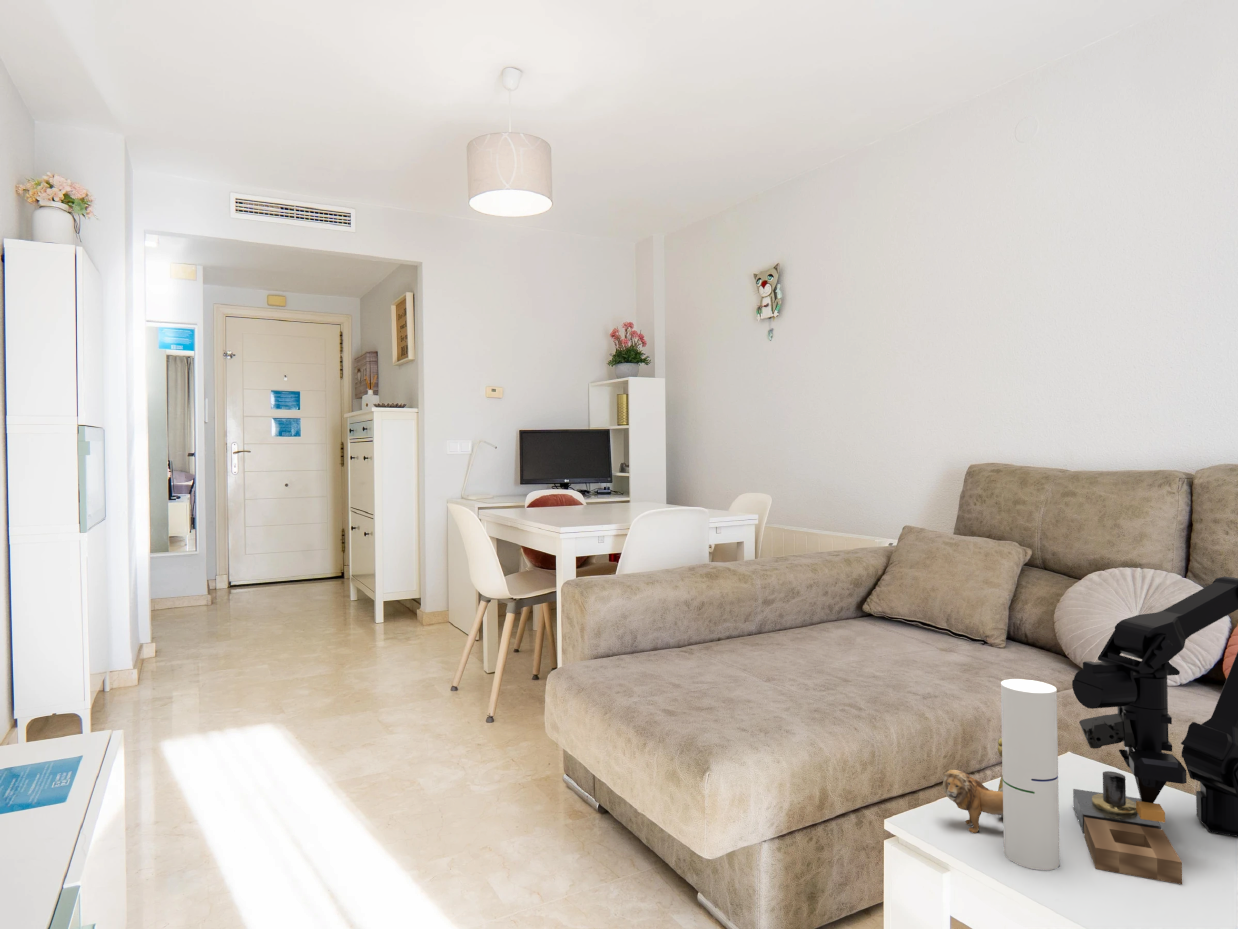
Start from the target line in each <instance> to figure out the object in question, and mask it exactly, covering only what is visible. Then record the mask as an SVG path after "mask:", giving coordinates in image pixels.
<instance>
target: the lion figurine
mask: <svg viewBox="0 0 1238 929" xmlns="http://www.w3.org/2000/svg"><path fill="white" fill-rule="evenodd" d="M942 790H943V793H944V795H945V796H946V798H948V799H949V800H950V801H952V802H953V803H954V804H956V807H957V808H958V809H959V810H963V811H966V812H968V815H969V818H968V819H967V820H965V824H966V825H968V826H970V827H969V828H968V832H970V833H972V834H977V833H979V831H980V817H981V815H982V813H984V814H988V815H994V816H999V815H1001V816H1002V814H1003V792H1000V791H998V790H993V789H989V788H987V787H986V786H984V784H983V783H982V782H981V781H980V780H979V779H976V778H974V777H972V776H970V775H969V774H968V773H966V772H964V771H962V770H958V769H950V770H948V771H946V772H945V773H943V782H942Z"/></svg>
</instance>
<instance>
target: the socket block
mask: <svg viewBox="0 0 1238 929" xmlns="http://www.w3.org/2000/svg"><path fill="white" fill-rule="evenodd" d="M1072 792H1073V793H1072V794H1073V795H1072V796H1073V797H1072V798H1073V806H1074V807H1073V810H1074V809H1075V810H1074V811H1075V812H1074V813H1075V815H1076V818H1077V820H1079V821H1078V823H1079V826H1080V828H1081V829H1080V830H1081V831H1082V834H1083V835H1084V817H1087V818H1093V819H1099V820H1106V821H1112V822H1118V823H1125V824H1131V825H1137V826H1144V827H1150V828H1156V829H1162V826H1161V824H1160V822H1158V821H1151V820H1145V819H1141V818H1140V816H1139V815H1138V813H1136V814H1134V815H1118V814H1113V813H1109V812H1106V811H1103V810H1101V809H1099V808H1097V807H1096V806H1094V805H1093V803H1092V796H1093V795H1096V794H1103V792H1098V791H1090V790H1083V789H1076V788H1072ZM1126 798H1127V799H1129V800H1131V801H1133V802H1134V803H1136V801H1141V798H1138V797H1132V796H1126Z"/></svg>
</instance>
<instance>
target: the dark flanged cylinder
mask: <svg viewBox="0 0 1238 929" xmlns="http://www.w3.org/2000/svg"><path fill="white" fill-rule="evenodd" d="M1126 786H1127V785H1126V776H1125V775H1124V774H1122V773H1119V772H1116V771H1112V770H1111V771H1110V770H1108V771H1103V772H1102V793H1103V794H1096V795H1093V796H1092V803H1093V805H1094V806H1096V807H1097V808H1099V809H1101V810H1103V811H1106V812H1109V813H1113V814H1118V815H1134V814H1136V813H1137V811H1136V803H1134V802H1133V801H1131V800H1129V799H1127V798H1126V797H1127V794H1126V791H1127V790H1126V788H1127V787H1126Z"/></svg>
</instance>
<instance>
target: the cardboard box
mask: <svg viewBox="0 0 1238 929" xmlns="http://www.w3.org/2000/svg"><path fill="white" fill-rule="evenodd" d="M1136 811H1137V813H1138V815H1139V816H1140V818H1141V819H1145V820H1151V821H1158V822H1159V823H1165V824H1166V811H1165V810H1164V808H1163V807H1162V805H1161V804H1160V803H1156V802H1154V803H1149V802H1142V801H1136Z"/></svg>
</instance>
